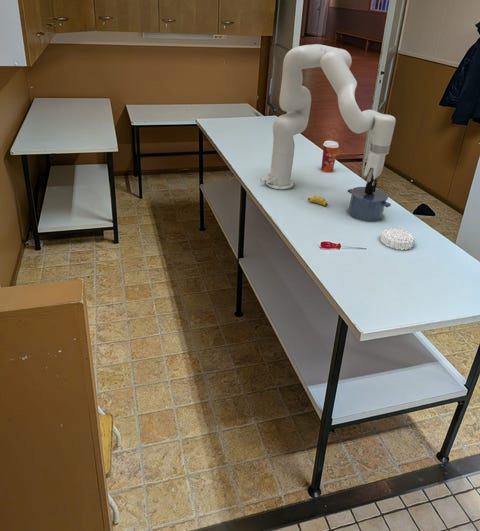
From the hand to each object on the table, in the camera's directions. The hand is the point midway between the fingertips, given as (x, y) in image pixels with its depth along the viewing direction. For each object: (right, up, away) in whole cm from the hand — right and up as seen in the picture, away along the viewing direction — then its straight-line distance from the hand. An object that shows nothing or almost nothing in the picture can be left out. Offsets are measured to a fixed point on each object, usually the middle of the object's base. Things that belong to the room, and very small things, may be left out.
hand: (369, 192), depth 200 cm
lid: (0, -1, +1) cm, 1 cm away
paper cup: (-9, +18, +48) cm, 52 cm away
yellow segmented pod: (-19, -3, +11) cm, 22 cm away
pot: (-1, -8, +5) cm, 10 cm away
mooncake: (+6, -21, -15) cm, 27 cm away
